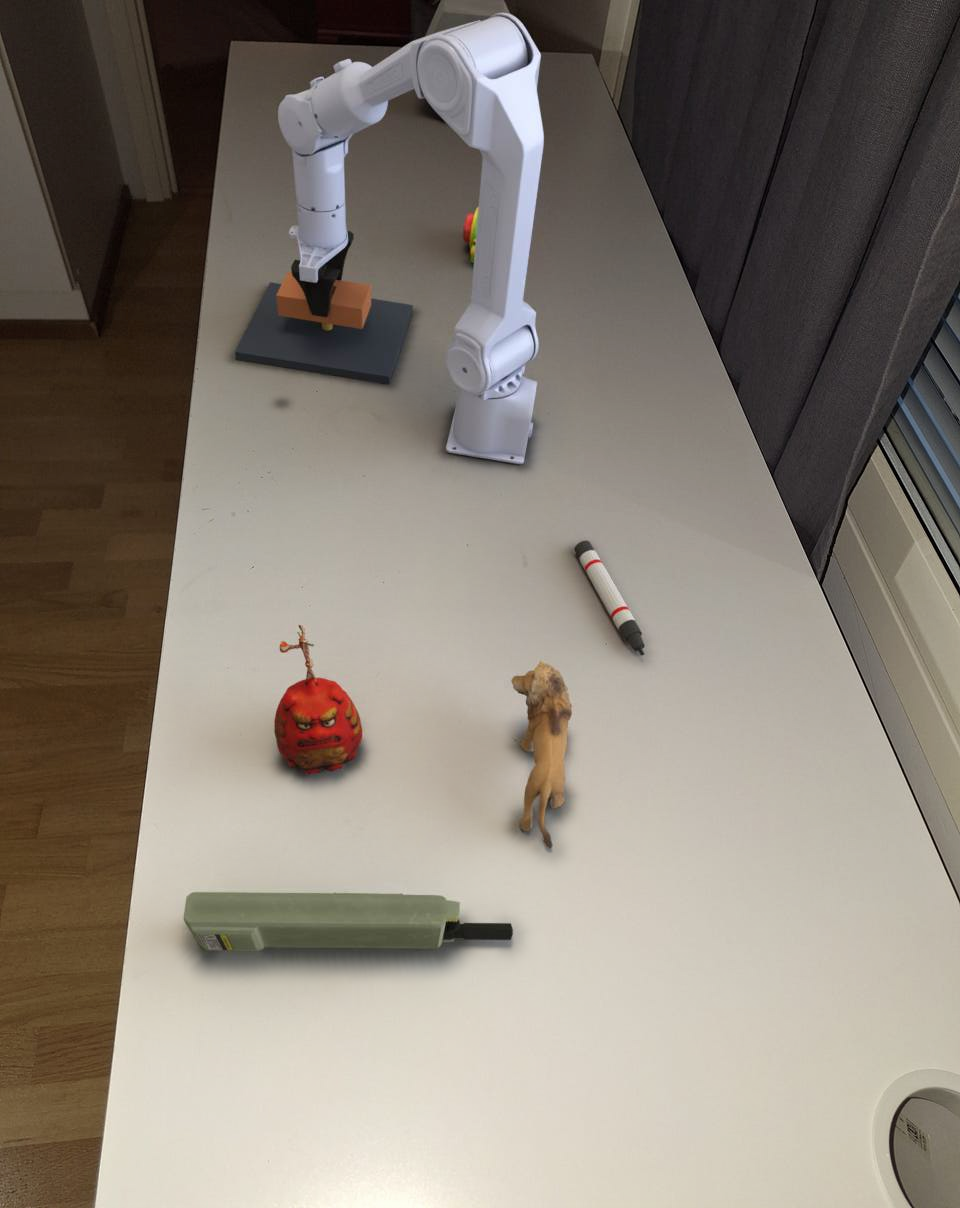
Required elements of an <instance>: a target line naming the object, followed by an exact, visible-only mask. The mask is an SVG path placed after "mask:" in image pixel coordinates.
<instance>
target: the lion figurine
mask: <svg viewBox="0 0 960 1208" xmlns="http://www.w3.org/2000/svg"><path fill="white" fill-rule="evenodd" d="M510 683H511V684H512V688H513V689H514V690H515V691H516V692H517V693H518V694H520V695H522V696H525V697H526V698H525V705H526V706H527V709H526V715H527V720H528V724H527V728H526V730H525V731H526V732H525V738H523V739H521V742H519V746H520V747H521V748H522V749H523V750H524V751H525V752H533V761H534V764H535V765H534V766H533V767H532V769H531V771H530V773H529V776H528V778H527V782H526V786H525V788H524V796H523V815H522V817H521V819H520V820H519V821H518V822H519V823H518V824H519V828H520V829H521V830H522V831H525V832H526V831H531V829H532V826H533V817H534V816H533V807H534V804H535V802H536V800H537V798H538V797H539V804H538V811H537V812H538V813H537V823H538V828H539V830H540V831H539V832H540V833H541V835H542V841H543V842H542V843H544V845H545V847H546V848H547V849H552V848H553V847H554V845H553V841H552V837H551V834H550V832H548V830H547V827H546V824H545V813H546V808H547V804H548V800H549V798H550V801H549V803H550V806H551V808H553V809H556V808H560V807H561V806H563V804H564V802H565V797H564V795H563V793H564V791H565V785H566V772H565V771H566V770H565V769H566V768H565V763H564V762H565V757H566V752H567V751H566V750H567V747H568V732H567V730H568V726H569V721H570V720H571V718H572V714H573V712H572V707H573V705H572V704H573V703H572V702H571V701H570V696H569V695H570V693H568V689H569V688H568V686H567V685H566V683H565V681H564V678H563V676H562V675H561V671H560V670H558V669H556V668H555V667H554V666H552V665H551V664H548V663H545V662H544V661H543V660H539V663H538V664H537V666H536V667H535V668H534V669H533V670H528V671H527V672H526V673H525V675H514V676H513V677H512V678H511V682H510Z"/></svg>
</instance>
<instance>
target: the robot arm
mask: <svg viewBox="0 0 960 1208" xmlns="http://www.w3.org/2000/svg"><path fill="white" fill-rule="evenodd" d="M541 57H542V54H541V52H540V51H539V49H538V47H537V45H536V44H535V42H534V40H533V39H532V37H531V35H530V32H529V31H528V30H527V28H526V26H525V25H524V24H523V22H521V20H520V19H518V18H517V17H516V16H515V15H513V14H511V13H510V14H508V13H498V14H495V15H492V16H491V17H490V18H488V19H487V20H484V21H480V20H479V21H475V22H471V23H467V24H464V25H461V26H457V27H454V28H451V29H447V30H444V31H440V32H437V33H434V34H432V35H429V36H426V37H425V36H424V37H423V36H422V37H421V38H418V39H415V40H412V41H410V42H409V43H407V44H405V45H404V46H402V48H399V49H398V50H396V51H395V52H393V53H392V54H391V55H389V56H387V57H386V58H384V59H383V60H381V61H380V62H378V63H376V64H375V65H374V66H372V65H370V64H369V63H366V62H363V61H354V62H352V59H351V58H347V59H344V60H341V61H338V62H336V63H335V64H334V65H333V70H334V73H332V74H330V75H328V76H327V77H326V78H324V76H318V77H316V78H313V80H310V82H309V85H310V88H309V89H307V90H304V91H301V92H298V93H295V94H294V93H293V94H286V95H285V97H284V98H283V99H282V101H281V102H280V103H279V106H278V110H277V119H278V125H279V128H280V132H281V134H282V136H283V138H284V140H285V142H286V144H287V145H288V146H289V147H290V148H291V153H292V165H293V179H294V192H295V204H296V205H295V206H296V219H297V220H296V221H297V225H292V226H291V227H290V228H289V231H288V238H289V239H290V240H293V241H296V242H297V247H298V253H299V258H300V259H294V260H293V262H292V264H291V267H290V270H291V271H290V272H291V273H292V276H293V277H294V278H295V279H296V281H297V282H298V283H299V285H300V286H301V288H302V290H303V292H304V294H305V297H306V300H307V303H308V306H309V309H310V311H311V314H312V315H315V316H321V317H328V314H329V311H330V306H331V297H332V290H333V285H334V282H335V280H341V281H343V274H344V268H345V262H346V258H347V255H348V252H349V249H350V247H351V246H352V244H353V241H354V238H355V237H354V236H355V235H354V233H353V231H350V230H348V229H347V216H346V215H347V214H346V213H347V211H346V210H347V209H346V183H345V182H346V181H345V180H346V179H345V158H346V156H347V154H349V141H350V139H351V138H352V137H353V135H354V134H356V133H359V132H360V131H363V130H364V129H367V128H369V127H370V126H372V125H375V124H377V123H379V122H380V121H381V120H382V119H383V118H384V117H385V115H386V113H387V109H388V105H389V101H390V100H393V99H395V98H398V97H399V96H401V95H403V94H405V93H409V92H410V91H412V90H414V91H415V92H414V93H415V94H416V96H417V98H418V99H420V100H424V99H425V100H426V101H427V103H428V104H429V105H430V107H431V108H432V109H433V110H434V112H435V113H436V114H437V115H438V116H439V117H440V118H441V119H442V120H443V121H444V122H445V123H446V124H447V125H448V126H449V127H450V128H451V130H452V131H453V132H455V133H456V134H457V135H458V136H459V138H460V139H462V141H463V142H464V143H465V144H466V145H467V146H468V147H469V148H473V149H476V150H478V151H479V152H480V154H481V157H482V159H481V161H482V162H481V172H480V184H479V195H478V206H479V207H478V206H477V207H478V219H477V231H476V243H475V256H474V263H473V269H472V280H471V281H472V282H471V292H470V293H471V295H470V302H469V304H468V306H467V308H466V309H465V311H464V312H463V313H462V315H461V317H460V318H459V320H458V321H457V323H456V325H455V326H454V328H453V338H452V341H451V343H450V344H449V346H448V347H447V349H446V352H445V364H446V369H447V371H448V374H449V376H450V379H451V380H452V381H453V383H454V384H455V385H456V386H457V387H456V398H455V399H456V400H455V409H454V413H453V416H452V421H451V425H450V430H449V433H448V438H447V442H446V446H445V451H446V452H447V453H449V454H454V455H455V454H456V455H460V456H461V455H462V456H467V457H473V458H480V459H485V460H491V461H498V462H503V463H504V462H505V463H511V464H515V465H516V464H517V465H523V464H524V462H525V457H526V451H527V446H528V440H529V438H531V437H532V434H533V428H534V422H532V418H533V411H534V405H535V400H536V399H535V398H536V394H537V388H538V387H537V386H538V381H537V380H533V379H532V378H531V379H530V378H528V377H525V376H524V374H525V370H526V364H528V363H530V362H532V361H533V360H534V359H535V358H536V356H537V354H538V351H539V347H540V346H539V337H538V332H537V328H536V319H537V312H536V310H535V309H533V307H531V305H529V304H528V303H527V302H526V301H525V300H524V295H525V288H526V279H527V272H528V265H529V258H530V250H531V243H532V236H533V228H534V222H535V221H534V219H535V214H536V213H535V211H536V205H537V198H538V197H537V196H538V191H539V183H540V175H541V167H542V160H543V153H544V145H545V144H544V143H545V141H544V140H545V134H544V133H545V132H544V126H543V120H542V114H541V107H540V102H539V95H538V84H539V74H540V67H541Z"/></svg>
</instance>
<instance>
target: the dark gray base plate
mask: <svg viewBox="0 0 960 1208" xmlns="http://www.w3.org/2000/svg"><path fill="white" fill-rule="evenodd" d="M281 284H282V283H279V282H269V284H268V286H267V287H266V290H265V292H264V294H263V296H262V297H261V300H260V302H259V303H258V305H257V307H256V309H255V311H254V313H253V315H252V317H251V320H250V321H249V323H248V325H247V327H246V329H245V331H244V333H243V334H242V337H241V339H240V341H239V343H238V345H237V347H236V349H235V351H234V355H235V356H234V357H235V360H238V361H243V362H250V363H256V364H262V365H268V366H275V367H281V368H285V369H293V370H299V371H306V372H311V373H317V374H324V375H329V376H330V375H331V376H337V377H343V378H349V379H355V380H359V381H360V380H361V381H368V382H373V383H379V384H385V385H390V384H391V382H392V381H391V380H392V378H393V375H394V372H395V369H396V365H397V363H398V359H399V356H400V353H401V350H402V346H403V343H404V340H405V337H406V334H407V330H408V327H409V324H410V322H411V319H412V315H413V309H414V308H413V307H414V305H413V304H408V303H402V302H395V301H389V300H383V299H378V298H372V297H371V307H370V310H369V312H368V315H367V318H366V320H365V323H364V326H363V328H362V329H358V328H352V327H346V326H340V325H334V324H328V323H322V322H316V321H311V320H310V321H309V320H303V319H297V318H291V317H285V316H279V315H278V309H277V299H276V295H277V293H278V291H279V289H280V286H281Z"/></svg>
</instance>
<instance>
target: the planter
mask: <svg viewBox="0 0 960 1208" xmlns="http://www.w3.org/2000/svg"><path fill="white" fill-rule="evenodd" d="M437 6H438V7H437V8H436V11H435V13H434V15H433V18H432V19H431V22H430V24H429V26H428V29H427V31H426V33H425V34H424V37H426V36H429V35H432V34H434V33H437V32H440V31H444V30H447V29H451V28H454V27H457V26H461V25H464V24H467V23H471V22H475V21H479V20H480V21H484V20H487V19H488V18H490V17H491V16H492V15H495V14H498V13H508V14H511V13H510V11H509V9H508V5H507V3H506V1H505V0H440V2H439V3H438V5H437Z"/></svg>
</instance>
